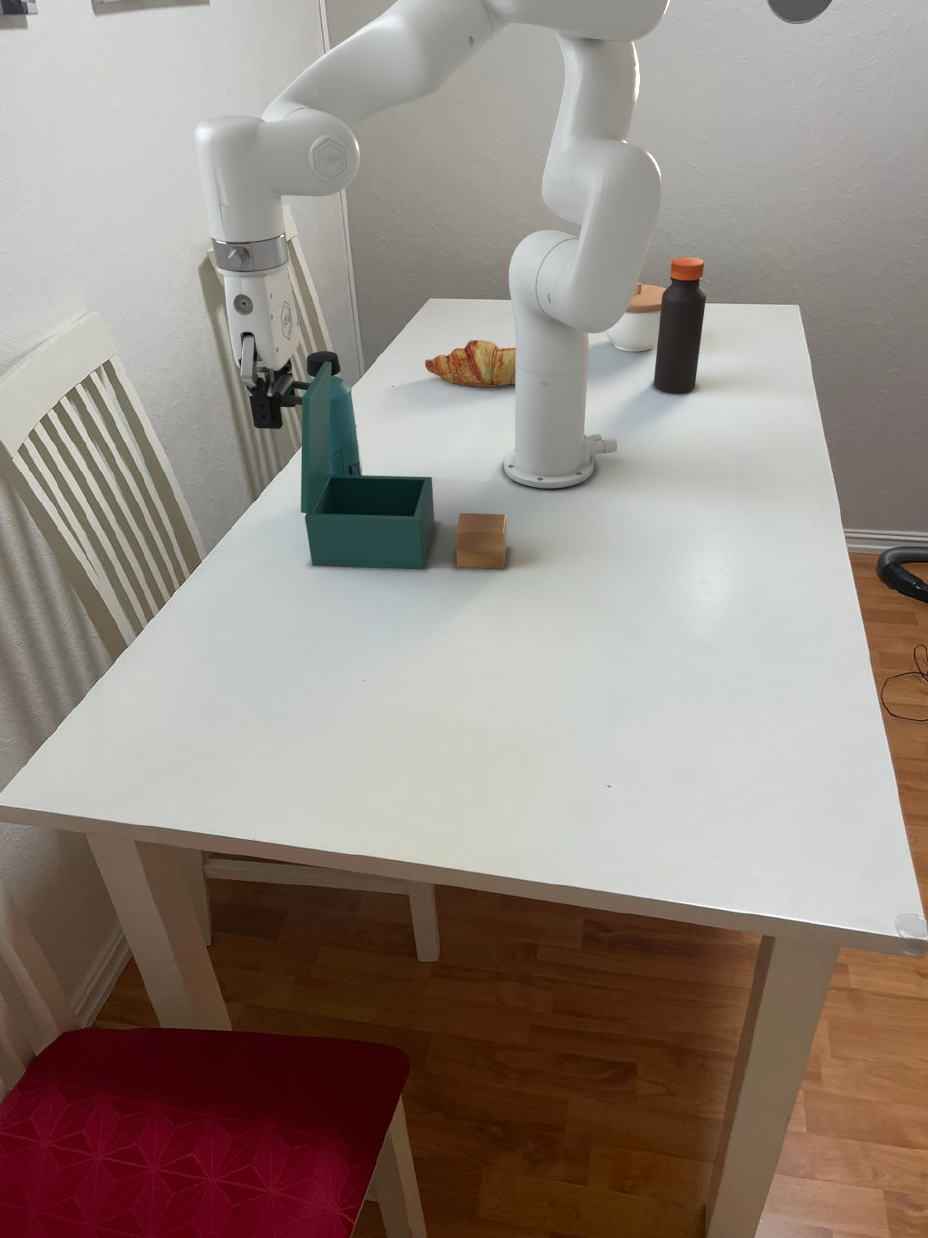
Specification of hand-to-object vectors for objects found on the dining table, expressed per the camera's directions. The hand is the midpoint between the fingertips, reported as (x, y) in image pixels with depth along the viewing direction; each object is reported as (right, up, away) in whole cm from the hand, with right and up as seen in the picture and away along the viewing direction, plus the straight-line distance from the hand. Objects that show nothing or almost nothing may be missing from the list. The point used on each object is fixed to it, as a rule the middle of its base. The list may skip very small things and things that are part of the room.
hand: (275, 415), depth 105 cm
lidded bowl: (+53, +27, +62) cm, 86 cm away
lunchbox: (+11, -14, +9) cm, 20 cm away
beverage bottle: (+5, -7, +19) cm, 21 cm away
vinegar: (+57, +15, +46) cm, 75 cm away
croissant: (+26, +17, +51) cm, 59 cm away
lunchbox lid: (+5, -2, +1) cm, 6 cm away
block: (+24, -16, +6) cm, 29 cm away
